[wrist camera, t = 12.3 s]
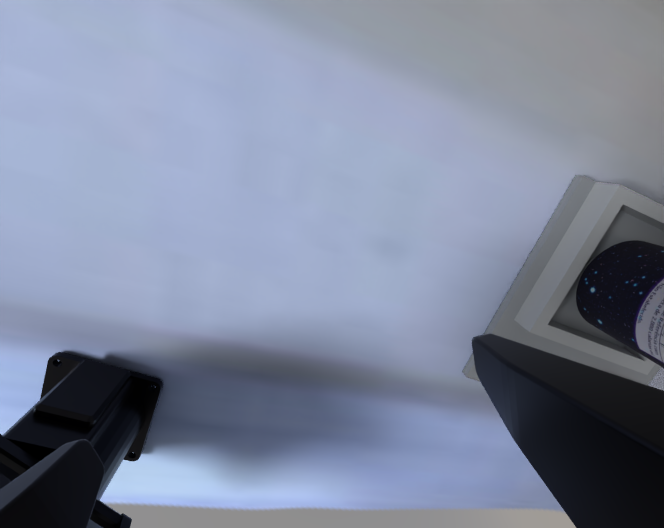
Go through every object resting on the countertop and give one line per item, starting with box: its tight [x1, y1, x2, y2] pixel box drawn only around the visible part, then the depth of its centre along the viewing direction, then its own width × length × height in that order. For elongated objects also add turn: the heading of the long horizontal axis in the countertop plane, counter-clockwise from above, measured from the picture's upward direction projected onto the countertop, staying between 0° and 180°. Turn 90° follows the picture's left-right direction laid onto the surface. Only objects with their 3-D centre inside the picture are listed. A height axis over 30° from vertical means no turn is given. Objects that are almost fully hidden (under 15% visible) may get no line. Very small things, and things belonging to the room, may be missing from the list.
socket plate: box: [462, 175, 664, 385], centre depth 22 cm, size 14×13×2 cm
